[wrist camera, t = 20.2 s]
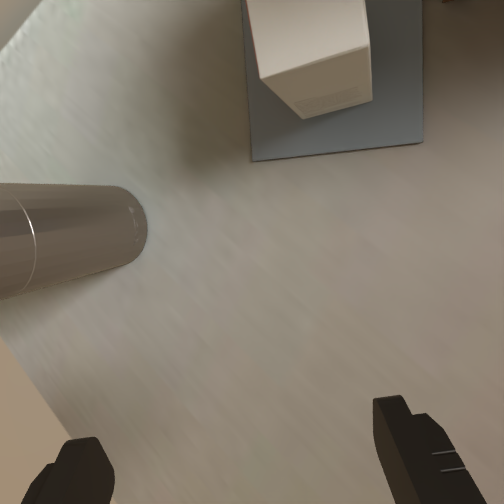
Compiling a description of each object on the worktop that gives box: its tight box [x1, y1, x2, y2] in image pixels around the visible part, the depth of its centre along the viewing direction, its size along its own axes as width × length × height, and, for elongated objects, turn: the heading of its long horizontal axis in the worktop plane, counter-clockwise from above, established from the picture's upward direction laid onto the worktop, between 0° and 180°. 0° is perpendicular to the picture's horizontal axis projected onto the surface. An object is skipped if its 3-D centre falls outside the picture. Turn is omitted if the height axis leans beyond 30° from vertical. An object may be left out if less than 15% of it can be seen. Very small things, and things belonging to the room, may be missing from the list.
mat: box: [241, 0, 423, 161], centre depth 32 cm, size 15×15×1 cm
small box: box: [245, 0, 373, 119], centre depth 25 cm, size 8×6×13 cm
